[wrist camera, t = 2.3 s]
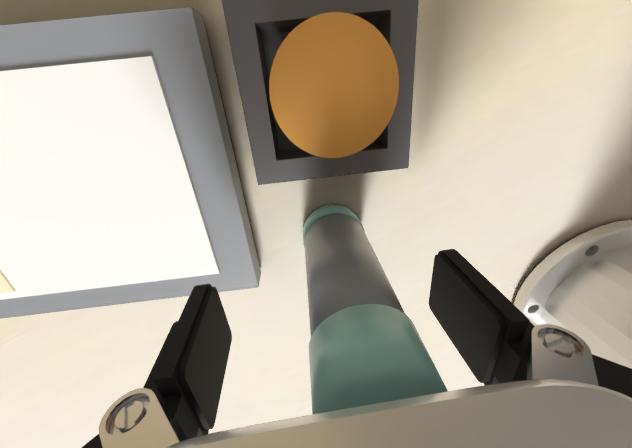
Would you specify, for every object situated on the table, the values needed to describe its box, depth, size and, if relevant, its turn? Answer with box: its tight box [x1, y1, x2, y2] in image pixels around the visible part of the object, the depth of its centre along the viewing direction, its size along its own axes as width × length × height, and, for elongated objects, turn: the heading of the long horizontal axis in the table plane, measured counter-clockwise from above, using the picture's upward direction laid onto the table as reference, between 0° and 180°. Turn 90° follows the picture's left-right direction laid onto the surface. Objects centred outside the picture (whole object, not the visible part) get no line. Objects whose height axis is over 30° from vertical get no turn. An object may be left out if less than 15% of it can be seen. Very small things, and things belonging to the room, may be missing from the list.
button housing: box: [222, 0, 418, 185], centre depth 12 cm, size 7×7×3 cm
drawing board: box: [0, 7, 261, 319], centre depth 14 cm, size 20×14×2 cm
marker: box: [303, 204, 448, 414], centre depth 12 cm, size 4×4×11 cm
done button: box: [269, 12, 399, 158], centre depth 10 cm, size 4×4×2 cm
